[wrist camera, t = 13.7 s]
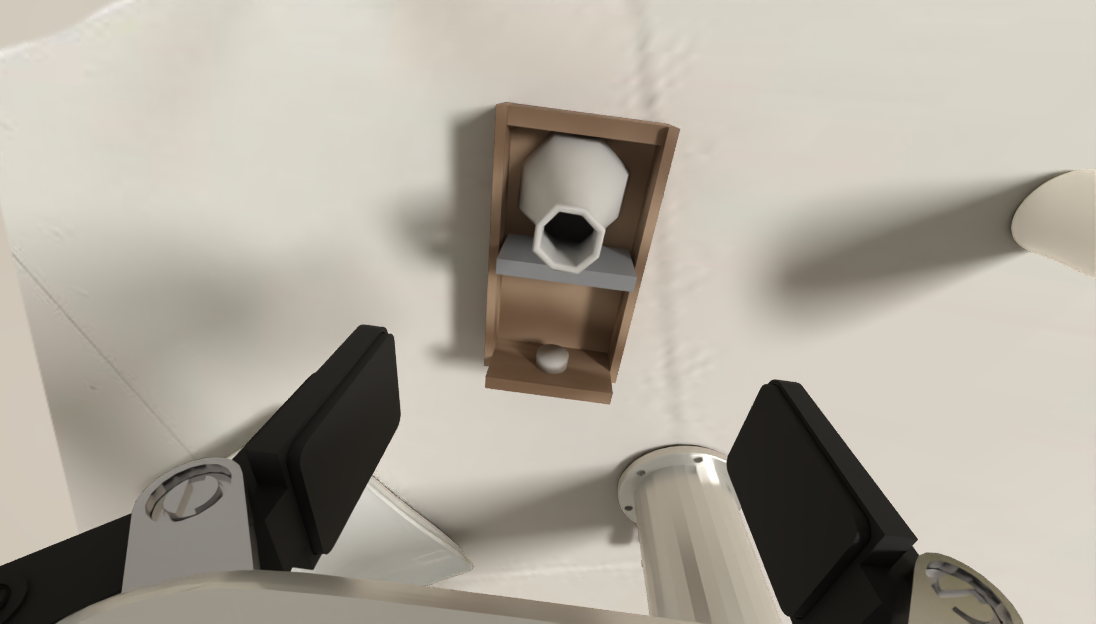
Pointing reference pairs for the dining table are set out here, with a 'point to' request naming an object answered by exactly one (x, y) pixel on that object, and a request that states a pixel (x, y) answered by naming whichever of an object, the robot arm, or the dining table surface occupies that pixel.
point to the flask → (571, 198)
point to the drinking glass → (1061, 221)
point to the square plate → (390, 544)
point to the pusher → (602, 273)
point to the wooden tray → (560, 308)
